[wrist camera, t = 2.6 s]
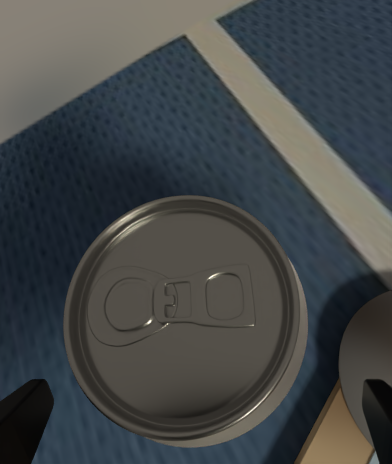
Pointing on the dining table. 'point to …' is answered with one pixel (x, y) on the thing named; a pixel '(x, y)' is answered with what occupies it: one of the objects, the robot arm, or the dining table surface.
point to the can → (185, 321)
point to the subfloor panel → (353, 389)
